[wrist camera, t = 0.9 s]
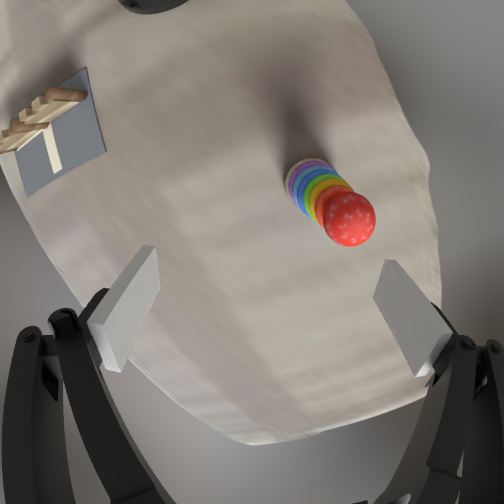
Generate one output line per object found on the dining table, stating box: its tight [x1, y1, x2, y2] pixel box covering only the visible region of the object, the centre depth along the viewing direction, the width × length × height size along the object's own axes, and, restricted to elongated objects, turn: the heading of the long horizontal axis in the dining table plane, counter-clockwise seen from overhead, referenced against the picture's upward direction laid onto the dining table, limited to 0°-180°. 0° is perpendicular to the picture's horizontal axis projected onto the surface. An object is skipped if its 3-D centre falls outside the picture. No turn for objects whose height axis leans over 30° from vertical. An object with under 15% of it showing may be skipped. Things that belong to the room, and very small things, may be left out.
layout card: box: [14, 68, 107, 197], centre depth 34 cm, size 16×22×1 cm
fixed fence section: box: [0, 118, 50, 154], centre depth 29 cm, size 2×12×10 cm, turn 104°
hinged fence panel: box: [19, 87, 88, 124], centre depth 27 cm, size 2×9×9 cm, turn 104°
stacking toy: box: [285, 158, 376, 247], centre depth 30 cm, size 8×8×19 cm
